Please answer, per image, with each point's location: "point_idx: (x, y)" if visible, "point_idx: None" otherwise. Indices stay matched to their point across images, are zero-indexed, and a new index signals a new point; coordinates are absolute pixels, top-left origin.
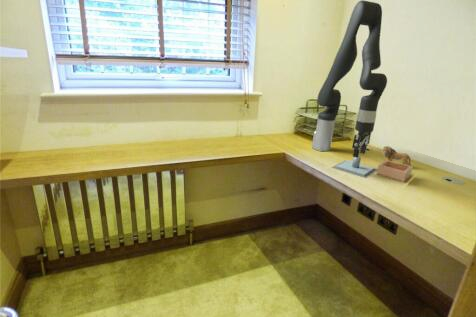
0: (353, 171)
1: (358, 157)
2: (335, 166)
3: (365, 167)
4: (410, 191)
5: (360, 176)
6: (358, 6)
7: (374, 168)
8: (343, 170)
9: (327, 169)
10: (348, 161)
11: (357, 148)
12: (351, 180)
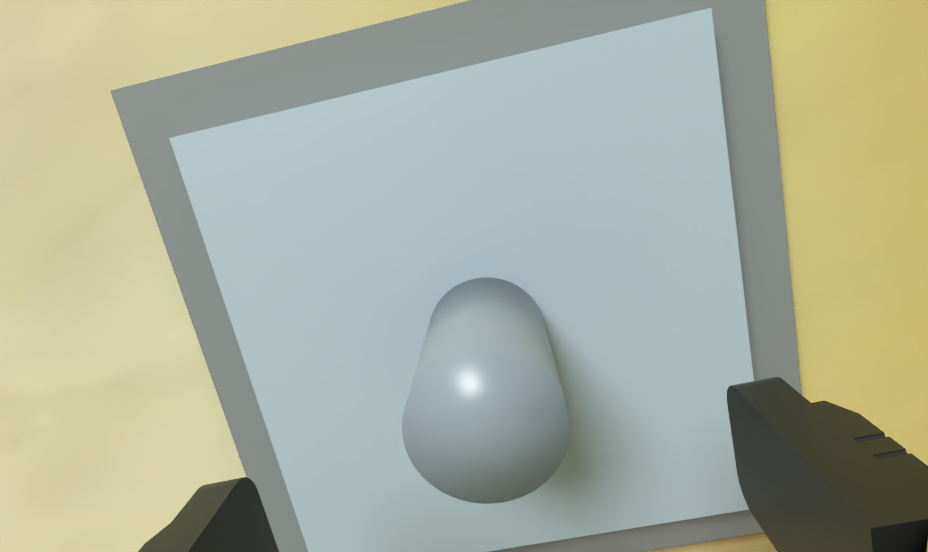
0: (269, 434)
1: (458, 468)
2: (227, 89)
3: (630, 429)
4: None
5: None
6: None
7: None
8: (211, 287)
9: (26, 90)
10: (646, 73)
11: None
12: (75, 528)
